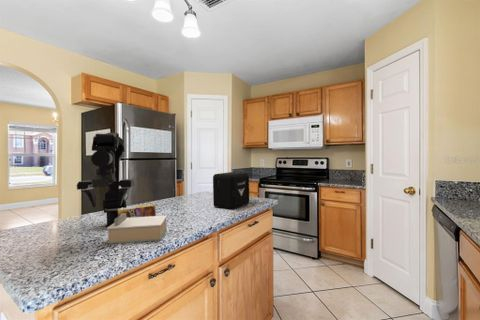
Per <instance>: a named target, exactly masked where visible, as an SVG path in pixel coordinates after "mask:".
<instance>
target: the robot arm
mask: <svg viewBox="0 0 480 320" xmlns="http://www.w3.org/2000/svg"><path fill="white" fill-rule="evenodd" d="M91 151H92V152H93V153H92V155H91V159H90V160H91V163H92V164H93V165H94V166H95V167H97V169H96V172H95V174H94V175H93V176H92V177H91V178H90V180H80V181H78V182H77V184H76V190H80V191H81V193H82V192H84V194H86V196H87V197H88V199H89V201H90V203H91V205H92V207H93V208H96V206H97V205H96V204H97V192H96V190H97V189H96V188H99V187H100V188H106V187H108V190H107V191H106V192H105V194H104V198H103V201H102V206H103V207H102V208H103V209H102V210H103V214H106V224H105V226H104V227H109V226H110V225H112V224H113V223H114V219H116V218H117V217H118V209H119V208H128V207H127V200H126V199H125V196H126V194H127V192H128V190H130V189H131V188H132V187H134V186H135V180H134V179H133V178H125V179H124V178H123V179H121V176H120V174H121V171H120V170H121V161H122V160H123V157H124V154H125V152H126V144H125V140H124V139H123V138H121V137H120V134H119V133H118V132H106V133H95V136H93V138H92V143H91ZM120 179H121V180H120Z"/></svg>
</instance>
